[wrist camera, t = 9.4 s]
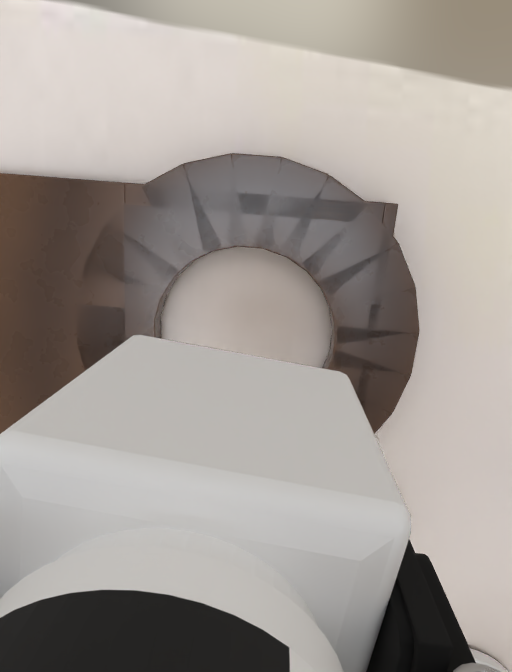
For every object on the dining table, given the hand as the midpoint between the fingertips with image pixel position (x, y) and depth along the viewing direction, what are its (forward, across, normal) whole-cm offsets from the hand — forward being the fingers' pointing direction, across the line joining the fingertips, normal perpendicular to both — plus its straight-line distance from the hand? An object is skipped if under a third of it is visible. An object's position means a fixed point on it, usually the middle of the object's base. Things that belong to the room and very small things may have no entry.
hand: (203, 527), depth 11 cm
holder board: (+17, +3, -1) cm, 18 cm away
